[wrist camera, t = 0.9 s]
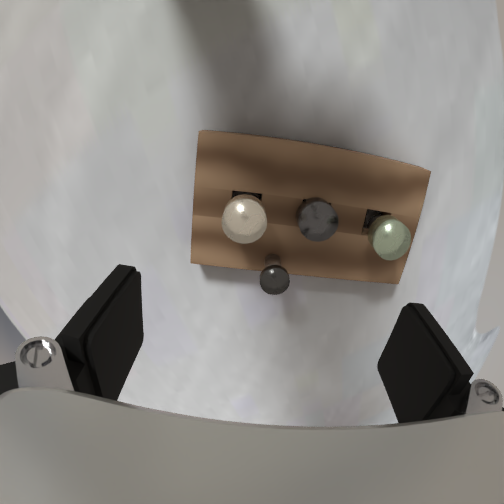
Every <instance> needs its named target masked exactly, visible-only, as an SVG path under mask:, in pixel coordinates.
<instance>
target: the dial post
mask: <svg viewBox="0 0 504 504" xmlns="http://www.w3.org/2000/svg"><path fill="white" fill-rule="evenodd" d="M264 264H265V268H264V269H263V271H262V272H261V274H260V285H261V288H262V289H263V290H264V291H265V292H266V293H268V294H272V295H277V294H280V293H283V292H284V291H285V290H286V289H287V288H288V286H289V283H290V280H289V274H288V272H287V270H286V269H285V268H284V267H282V265H281V259H280V257H279V256H278V255H276V254H269V255H267V256H266V258H265V260H264Z"/></svg>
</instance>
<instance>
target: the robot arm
mask: <svg viewBox="0 0 504 504" xmlns="http://www.w3.org/2000/svg"><path fill="white" fill-rule="evenodd" d="M143 337H144V333H143V317H142V296H141V274H140V272H137V271H136V268H135V267H133V266H127V265H121V264H119V265H118V266H117V267H116V268H115V269H114V270H113V271H112V272H111V274H110V275H109V276H108V277H107V278H106V279H105V280H104V282H103V283H102V284H101V285H100V286H99V287H98V289H97V290H96V291H95V292H94V293H93V294H92V296H91V297H89V298H88V299H87V300H86V301H85V303H84V304H83V305H82V306H81V307H80V309H79V310H78V311H77V312H76V314H75V315H74V316H73V317H72V318H71V320H70V321H69V322H68V323H67V325H66V326H65V327H64V328H63V330H62V331H61V332H60V334H59V335H58V336H57V337H56V339H55V340H54V339H51V338H49V337H42V336H41V337H34V338H31V339H28V340H26V341H24V342H23V343H22V344H21V345H20V346H19V347H18V348H17V350H16V353H15V361H14V362H10V363H6V364H3V365H0V504H504V408H503V407H502V402H503V400H502V395H501V393H500V391H499V389H498V388H497V387H496V386H495V385H494V384H493V383H491V382H489V381H487V380H484V379H477V380H475V381H473V382H472V384H470V383H469V380H470V378H471V377H472V375H473V374H474V373H473V372H472V370H471V369H470V367H469V366H468V364H467V363H466V361H465V360H464V358H463V357H462V356H461V354H460V353H459V351H458V350H457V348H456V347H455V346H454V344H453V343H452V341H451V340H450V339H449V337H448V336H447V335H446V333H445V332H444V330H443V329H442V328H441V326H440V325H439V324H438V322H437V321H436V320H435V318H434V317H433V316H432V315H431V313H430V312H429V311H428V309H427V308H426V307H425V306H424V305H423V304H419V303H408V304H407V305H406V306H404V307H403V308H402V310H401V312H400V315H399V317H398V319H397V322H396V324H395V326H394V329H393V331H392V333H391V335H390V338H389V340H388V342H387V344H386V346H385V348H384V350H383V352H382V355H381V357H380V359H379V361H378V366H377V367H378V371H379V374H380V376H381V379H382V381H383V384H384V386H385V389H386V391H387V394H388V396H389V399H390V401H391V404H392V407H393V409H394V412H395V414H396V417H397V420H398V422H399V423H397V424H385V425H369V426H345V427H303V426H279V425H264V424H251V423H241V422H231V421H223V420H215V419H208V418H201V417H194V416H188V415H182V414H177V413H171V412H166V411H161V410H155V409H150V408H146V407H141V406H136V405H132V404H128V403H123V402H119V401H117V399H118V397H119V394H120V392H121V390H122V388H123V385H124V383H125V381H126V378H127V376H128V374H129V372H130V370H131V367H132V365H133V363H134V361H135V358H136V356H137V354H138V352H139V350H140V348H141V345H142V343H143Z"/></svg>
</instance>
